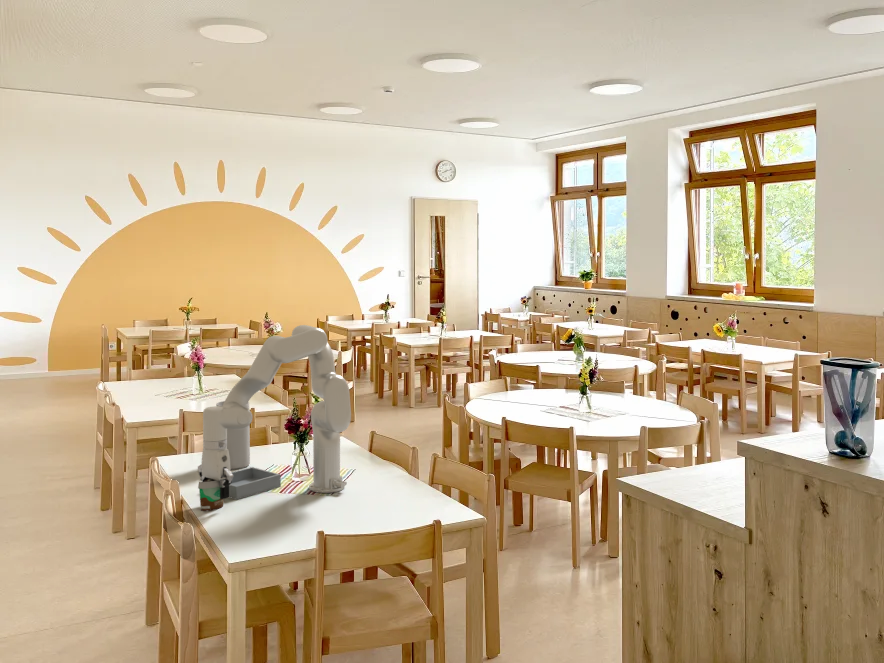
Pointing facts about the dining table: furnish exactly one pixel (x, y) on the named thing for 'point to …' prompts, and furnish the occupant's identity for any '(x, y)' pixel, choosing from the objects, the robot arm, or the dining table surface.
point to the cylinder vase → (238, 445)
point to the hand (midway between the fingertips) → (215, 495)
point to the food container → (210, 495)
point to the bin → (252, 482)
